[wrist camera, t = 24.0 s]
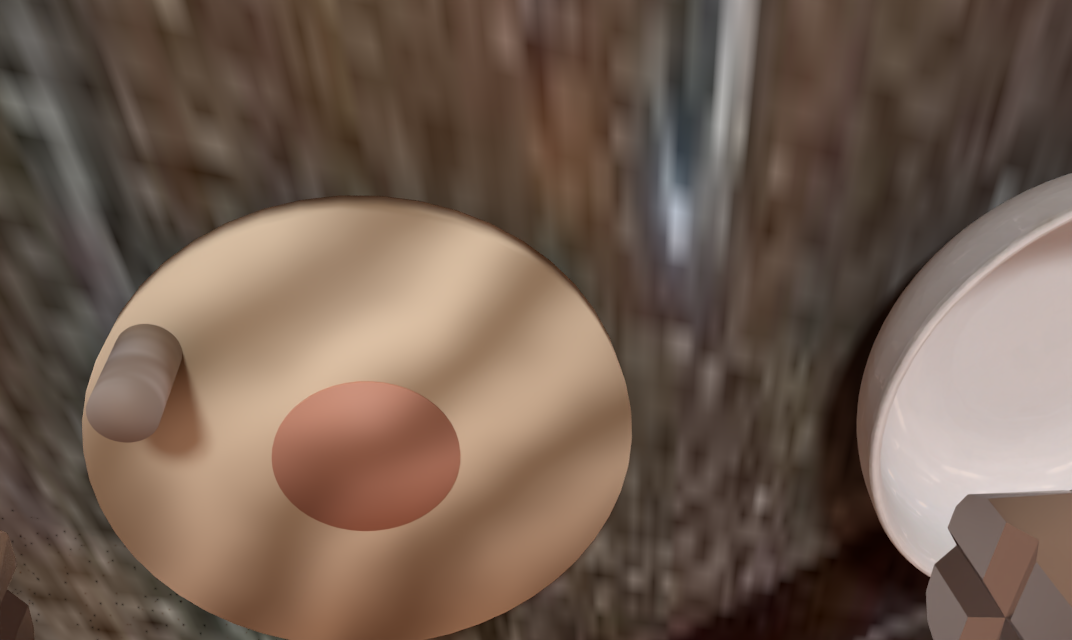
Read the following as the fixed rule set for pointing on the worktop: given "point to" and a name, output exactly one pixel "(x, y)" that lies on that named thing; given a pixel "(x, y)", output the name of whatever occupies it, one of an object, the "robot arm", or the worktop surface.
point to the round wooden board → (357, 421)
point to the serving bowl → (973, 374)
